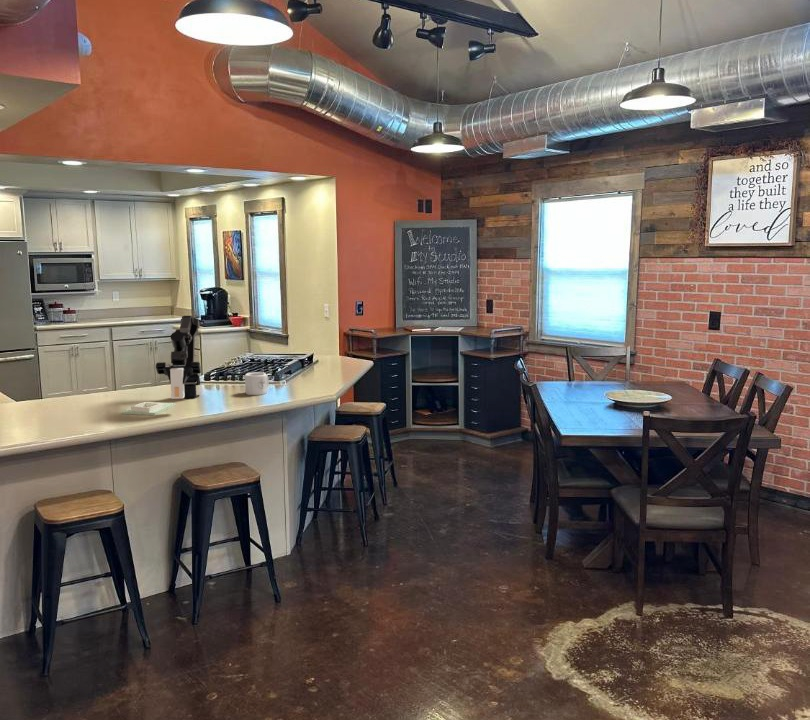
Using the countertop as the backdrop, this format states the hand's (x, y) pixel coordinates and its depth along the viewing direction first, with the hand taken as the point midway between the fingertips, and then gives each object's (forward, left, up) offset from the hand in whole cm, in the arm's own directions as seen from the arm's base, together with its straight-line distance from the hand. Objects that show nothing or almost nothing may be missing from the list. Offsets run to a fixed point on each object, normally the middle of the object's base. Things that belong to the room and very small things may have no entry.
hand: (176, 383), depth 300 cm
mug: (-49, +20, -14) cm, 55 cm away
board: (-5, -16, -13) cm, 22 cm away
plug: (-1, 0, -7) cm, 7 cm away
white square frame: (-1, -15, -13) cm, 20 cm away
